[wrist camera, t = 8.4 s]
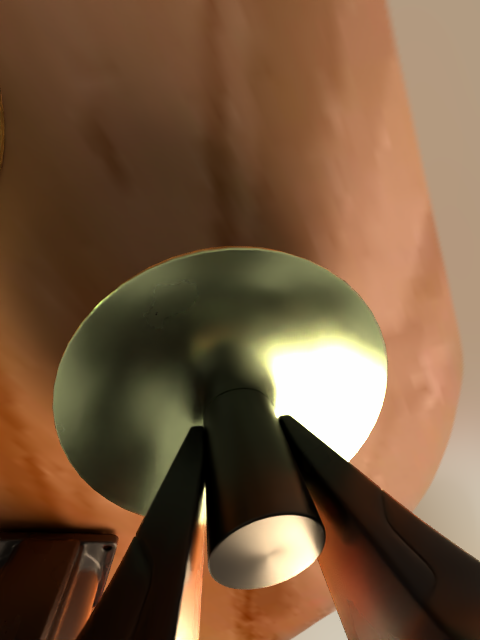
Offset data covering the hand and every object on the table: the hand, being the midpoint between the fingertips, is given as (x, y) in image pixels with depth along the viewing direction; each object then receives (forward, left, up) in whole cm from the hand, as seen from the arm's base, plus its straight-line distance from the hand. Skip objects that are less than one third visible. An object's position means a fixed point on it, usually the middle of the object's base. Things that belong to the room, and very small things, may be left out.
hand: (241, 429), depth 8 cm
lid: (0, 0, -1) cm, 1 cm away
